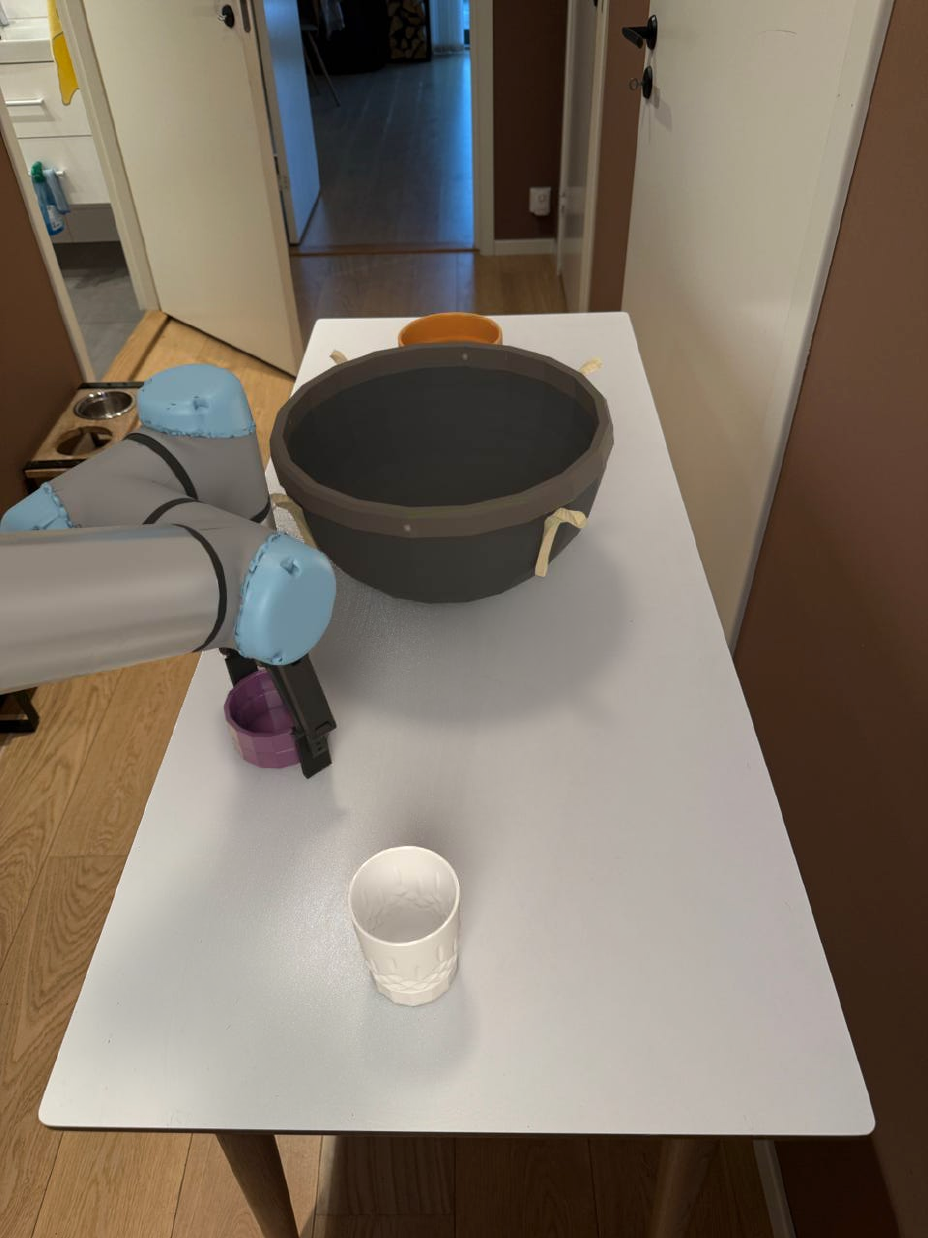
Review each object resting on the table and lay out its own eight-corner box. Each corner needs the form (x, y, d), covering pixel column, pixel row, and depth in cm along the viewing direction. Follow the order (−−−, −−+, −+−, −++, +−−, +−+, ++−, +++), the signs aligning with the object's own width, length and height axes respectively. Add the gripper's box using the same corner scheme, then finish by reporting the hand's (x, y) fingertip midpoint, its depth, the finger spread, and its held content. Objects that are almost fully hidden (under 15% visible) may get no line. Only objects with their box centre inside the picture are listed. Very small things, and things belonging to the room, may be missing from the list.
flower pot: (397, 443, 129) (388, 356, 120) (414, 394, 139) (407, 310, 131) (498, 446, 127) (496, 358, 119) (507, 396, 138) (506, 312, 129)
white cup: (466, 1013, 68) (460, 943, 62) (359, 1016, 68) (342, 947, 62) (464, 916, 74) (458, 843, 67) (366, 920, 74) (351, 847, 68)
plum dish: (266, 789, 85) (256, 753, 81) (218, 733, 90) (206, 698, 86) (347, 738, 89) (340, 702, 85) (296, 688, 94) (288, 653, 91)
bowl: (341, 477, 123) (319, 334, 110) (609, 490, 118) (620, 342, 105) (257, 662, 97) (215, 505, 84) (597, 689, 92) (609, 526, 79)
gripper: (357, 602, 69) (387, 784, 84) (206, 478, 83) (254, 653, 98) (271, 650, 66) (318, 831, 81) (128, 512, 80) (191, 688, 94)
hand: (283, 733), depth 89 cm, fingers open, 11 cm apart
